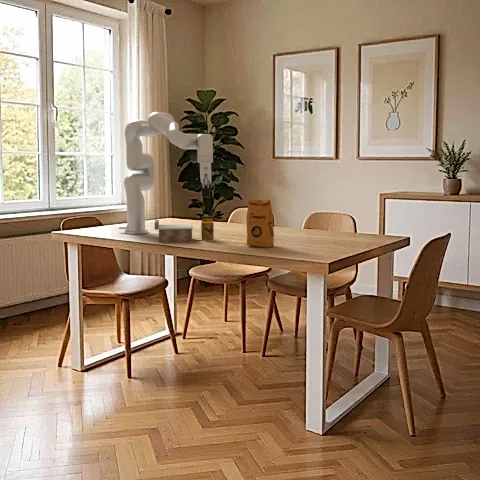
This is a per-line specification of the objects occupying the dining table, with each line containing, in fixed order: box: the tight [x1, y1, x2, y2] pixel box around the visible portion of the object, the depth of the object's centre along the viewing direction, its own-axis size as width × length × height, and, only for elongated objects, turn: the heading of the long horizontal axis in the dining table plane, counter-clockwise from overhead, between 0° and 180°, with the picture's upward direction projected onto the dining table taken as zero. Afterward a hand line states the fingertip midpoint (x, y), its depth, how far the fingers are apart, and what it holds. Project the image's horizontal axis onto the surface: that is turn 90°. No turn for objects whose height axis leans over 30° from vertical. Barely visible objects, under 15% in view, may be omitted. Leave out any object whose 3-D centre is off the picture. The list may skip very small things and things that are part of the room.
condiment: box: [200, 215, 216, 242], centre depth 309 cm, size 7×8×12 cm
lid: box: [154, 219, 193, 231], centre depth 307 cm, size 18×12×3 cm
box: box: [158, 229, 193, 243], centre depth 308 cm, size 16×12×6 cm
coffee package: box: [245, 198, 275, 249], centre depth 287 cm, size 10×12×22 cm
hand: (205, 195), depth 307 cm, fingers open, 7 cm apart
